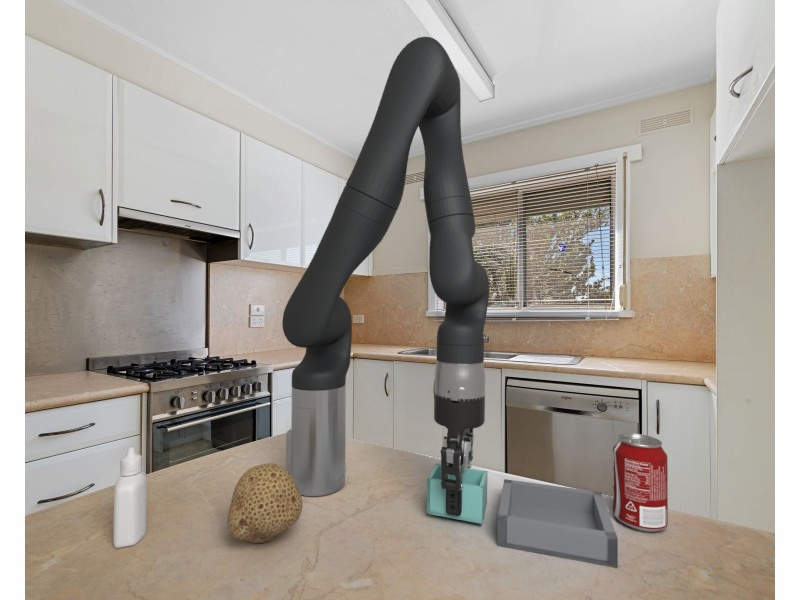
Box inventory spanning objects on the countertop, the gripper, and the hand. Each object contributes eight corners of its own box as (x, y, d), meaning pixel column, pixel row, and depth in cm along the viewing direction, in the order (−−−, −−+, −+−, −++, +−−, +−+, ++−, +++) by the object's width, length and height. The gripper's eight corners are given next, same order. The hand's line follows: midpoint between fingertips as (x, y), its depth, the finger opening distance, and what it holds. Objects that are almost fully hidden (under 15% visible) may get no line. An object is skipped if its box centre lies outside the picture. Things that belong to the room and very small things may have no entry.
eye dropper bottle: (97, 547, 52) (98, 454, 52) (132, 524, 58) (133, 439, 58) (127, 551, 51) (128, 456, 52) (160, 527, 57) (161, 441, 57)
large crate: (497, 545, 53) (497, 518, 53) (504, 501, 65) (504, 479, 65) (617, 567, 48) (617, 538, 49) (601, 515, 60) (601, 492, 60)
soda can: (676, 538, 55) (676, 449, 55) (621, 532, 56) (621, 445, 56) (655, 513, 61) (655, 433, 61) (607, 508, 63) (607, 430, 63)
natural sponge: (313, 528, 57) (314, 456, 57) (279, 568, 48) (280, 483, 48) (256, 519, 59) (256, 450, 59) (214, 556, 50) (215, 475, 51)
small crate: (426, 513, 59) (427, 479, 59) (436, 495, 65) (436, 463, 65) (482, 523, 57) (482, 487, 57) (486, 503, 62) (487, 471, 62)
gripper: (444, 380, 69) (443, 479, 69) (422, 399, 55) (420, 523, 55) (490, 384, 67) (488, 486, 66) (478, 404, 53) (476, 534, 53)
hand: (457, 502), depth 61 cm, fingers closed on small crate, 6 cm apart
